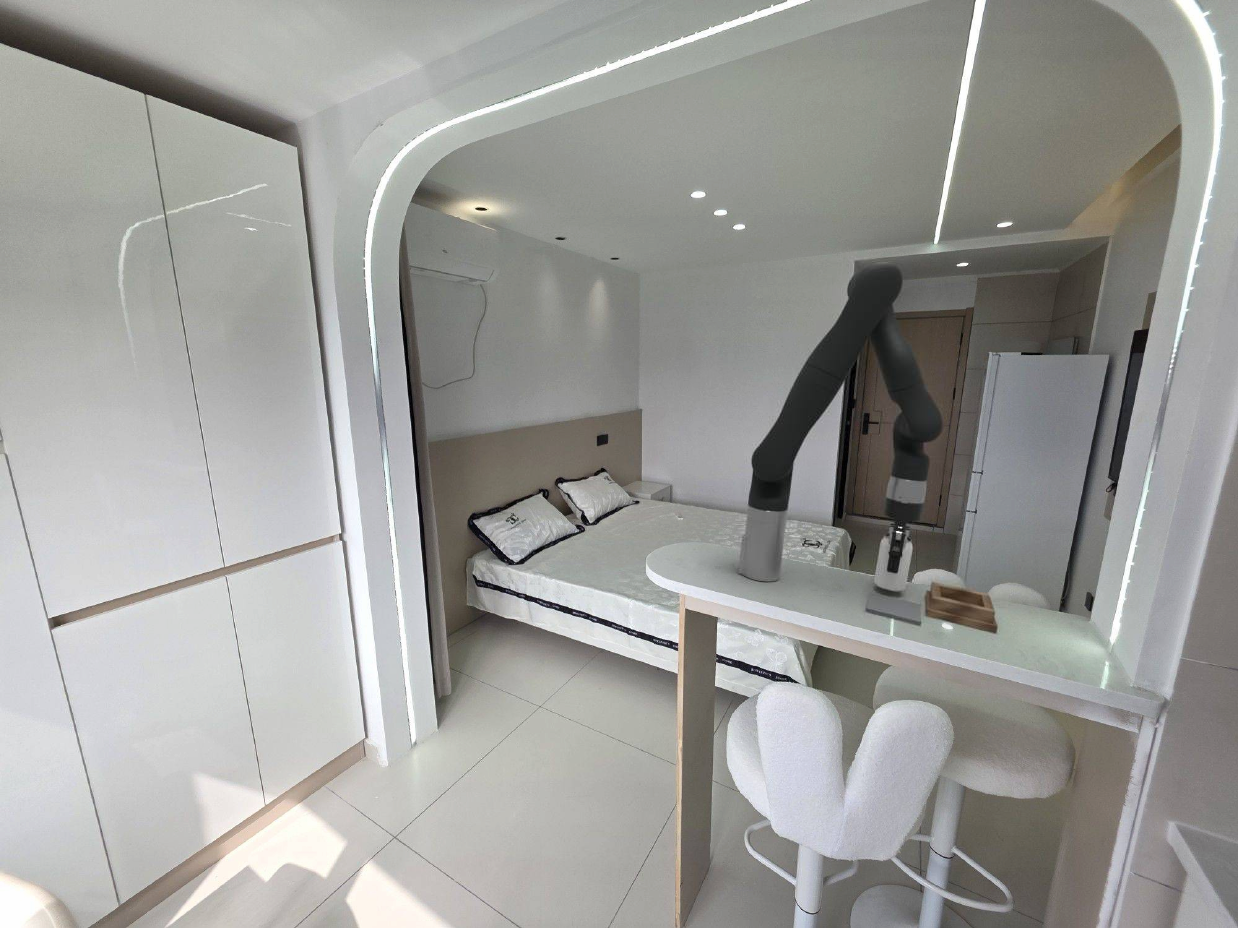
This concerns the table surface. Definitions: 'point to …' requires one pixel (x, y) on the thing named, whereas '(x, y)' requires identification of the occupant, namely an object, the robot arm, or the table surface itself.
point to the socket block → (961, 607)
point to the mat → (894, 608)
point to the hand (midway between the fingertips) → (892, 567)
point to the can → (882, 575)
